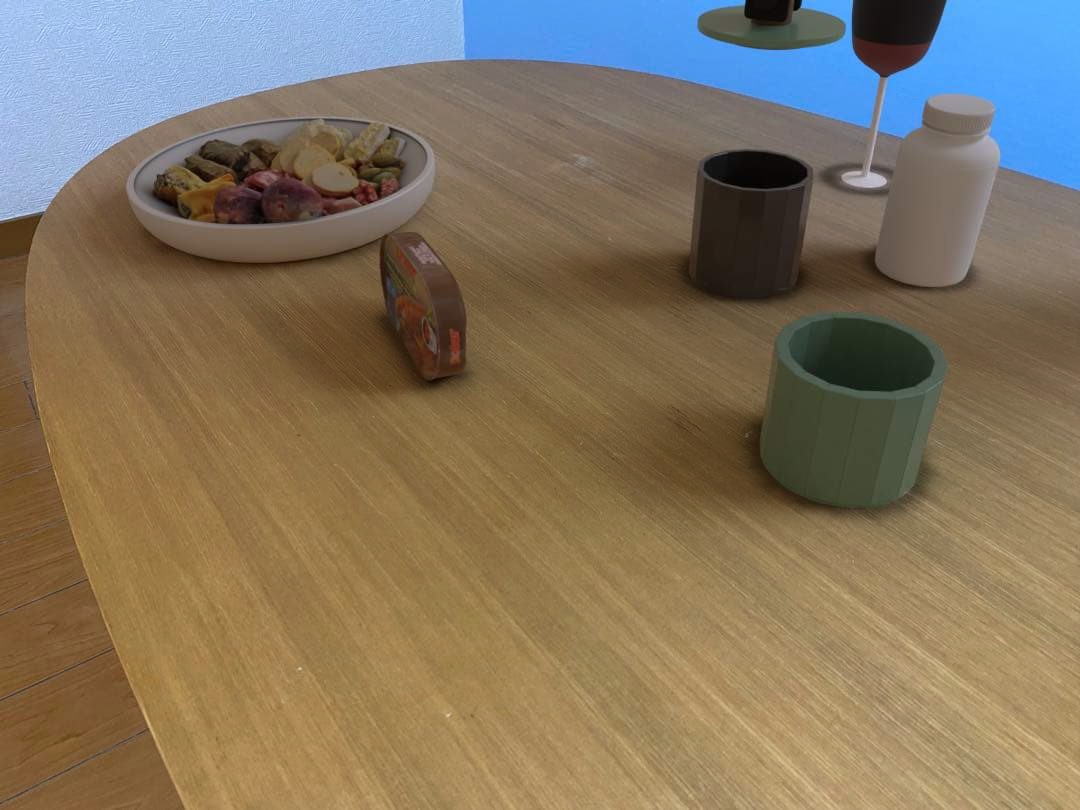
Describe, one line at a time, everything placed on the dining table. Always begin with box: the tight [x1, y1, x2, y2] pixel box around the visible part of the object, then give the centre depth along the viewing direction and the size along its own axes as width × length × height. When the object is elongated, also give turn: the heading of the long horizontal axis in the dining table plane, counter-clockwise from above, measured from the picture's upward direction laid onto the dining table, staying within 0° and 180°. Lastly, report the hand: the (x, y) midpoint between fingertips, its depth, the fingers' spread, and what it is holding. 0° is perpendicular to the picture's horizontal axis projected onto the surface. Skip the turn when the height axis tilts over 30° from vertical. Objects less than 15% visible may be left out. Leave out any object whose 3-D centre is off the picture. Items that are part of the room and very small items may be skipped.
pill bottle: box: [874, 93, 1001, 288], centre depth 80 cm, size 8×8×15 cm
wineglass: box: [841, 0, 948, 189], centre depth 95 cm, size 8×9×20 cm
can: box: [759, 311, 949, 509], centre depth 60 cm, size 10×10×8 cm
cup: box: [688, 148, 815, 300], centre depth 81 cm, size 9×9×10 cm
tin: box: [379, 231, 468, 381], centre depth 72 cm, size 15×3×8 cm, turn 23°
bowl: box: [125, 115, 436, 264], centre depth 95 cm, size 30×30×8 cm
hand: (772, 11), depth 71 cm, fingers closed on lid, 3 cm apart
